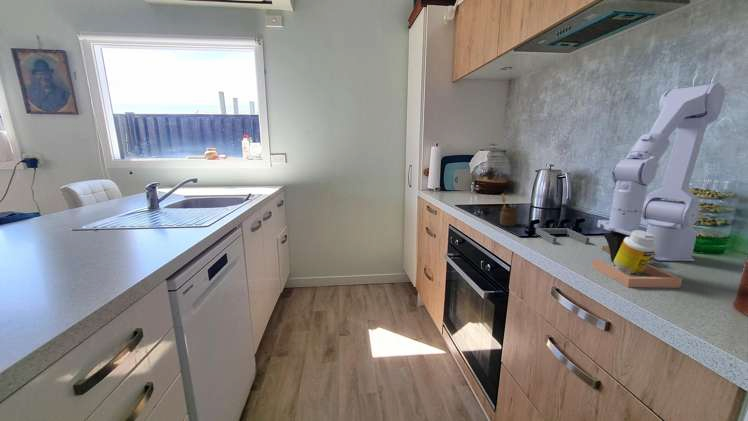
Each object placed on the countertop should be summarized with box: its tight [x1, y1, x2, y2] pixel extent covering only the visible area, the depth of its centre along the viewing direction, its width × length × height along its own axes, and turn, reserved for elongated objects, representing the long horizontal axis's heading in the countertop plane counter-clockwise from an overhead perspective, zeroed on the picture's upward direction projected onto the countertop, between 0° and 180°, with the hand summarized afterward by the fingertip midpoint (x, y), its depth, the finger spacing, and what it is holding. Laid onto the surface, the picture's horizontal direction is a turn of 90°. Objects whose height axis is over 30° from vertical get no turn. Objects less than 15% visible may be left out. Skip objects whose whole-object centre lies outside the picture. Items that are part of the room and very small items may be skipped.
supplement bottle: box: [611, 229, 655, 277], centre depth 67 cm, size 6×6×10 cm
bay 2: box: [591, 258, 683, 289], centre depth 68 cm, size 11×11×2 cm
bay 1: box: [534, 227, 590, 245], centre depth 96 cm, size 11×11×2 cm
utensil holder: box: [499, 192, 518, 227], centre depth 114 cm, size 6×6×12 cm
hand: (617, 262), depth 73 cm, fingers closed
